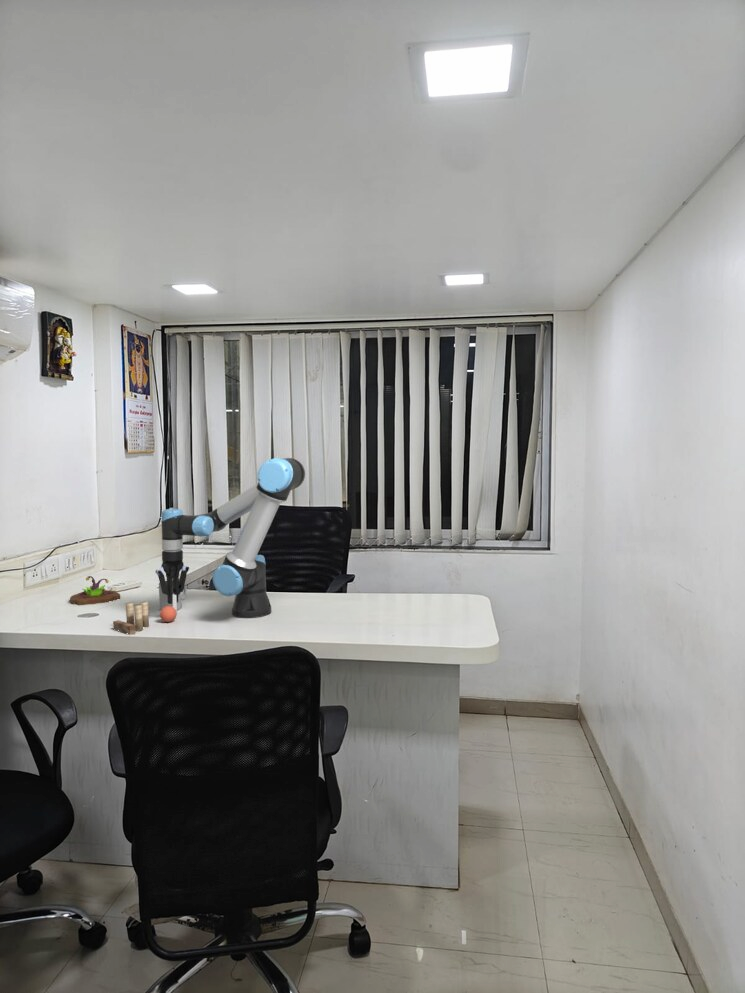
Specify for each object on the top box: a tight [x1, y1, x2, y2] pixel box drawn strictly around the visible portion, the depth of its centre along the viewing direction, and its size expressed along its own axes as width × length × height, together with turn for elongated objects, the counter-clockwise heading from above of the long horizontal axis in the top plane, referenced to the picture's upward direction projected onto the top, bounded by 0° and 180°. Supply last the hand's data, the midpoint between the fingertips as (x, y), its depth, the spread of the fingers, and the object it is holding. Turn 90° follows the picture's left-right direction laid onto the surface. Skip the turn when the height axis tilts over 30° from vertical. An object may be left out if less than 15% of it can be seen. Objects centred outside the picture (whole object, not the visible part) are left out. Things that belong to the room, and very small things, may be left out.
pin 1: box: [125, 602, 135, 625], centre depth 237 cm, size 3×3×9 cm
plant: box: [69, 575, 121, 606], centre depth 287 cm, size 20×20×11 cm
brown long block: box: [112, 619, 137, 635], centre depth 232 cm, size 12×2×3 cm, turn 48°
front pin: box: [139, 601, 150, 628], centre depth 238 cm, size 3×3×9 cm
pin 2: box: [134, 604, 144, 632], centre depth 233 cm, size 3×3×9 cm
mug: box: [158, 580, 188, 611], centre depth 267 cm, size 12×8×11 cm
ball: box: [159, 606, 178, 623], centre depth 244 cm, size 6×6×6 cm
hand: (173, 611), depth 248 cm, fingers closed
